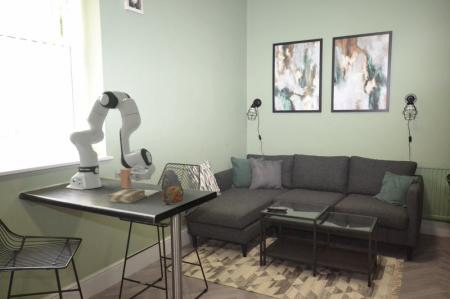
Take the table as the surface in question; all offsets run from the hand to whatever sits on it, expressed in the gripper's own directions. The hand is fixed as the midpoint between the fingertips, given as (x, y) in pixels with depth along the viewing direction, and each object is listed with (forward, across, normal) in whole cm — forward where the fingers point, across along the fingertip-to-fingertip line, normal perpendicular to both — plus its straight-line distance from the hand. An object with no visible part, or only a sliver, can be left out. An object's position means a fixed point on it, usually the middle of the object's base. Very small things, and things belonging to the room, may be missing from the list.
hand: (124, 177), depth 205 cm
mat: (-17, +1, +13) cm, 21 cm away
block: (-1, 0, +6) cm, 6 cm away
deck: (-1, +1, +13) cm, 13 cm away
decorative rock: (-17, +21, +13) cm, 29 cm away
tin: (-1, +29, +12) cm, 31 cm away
